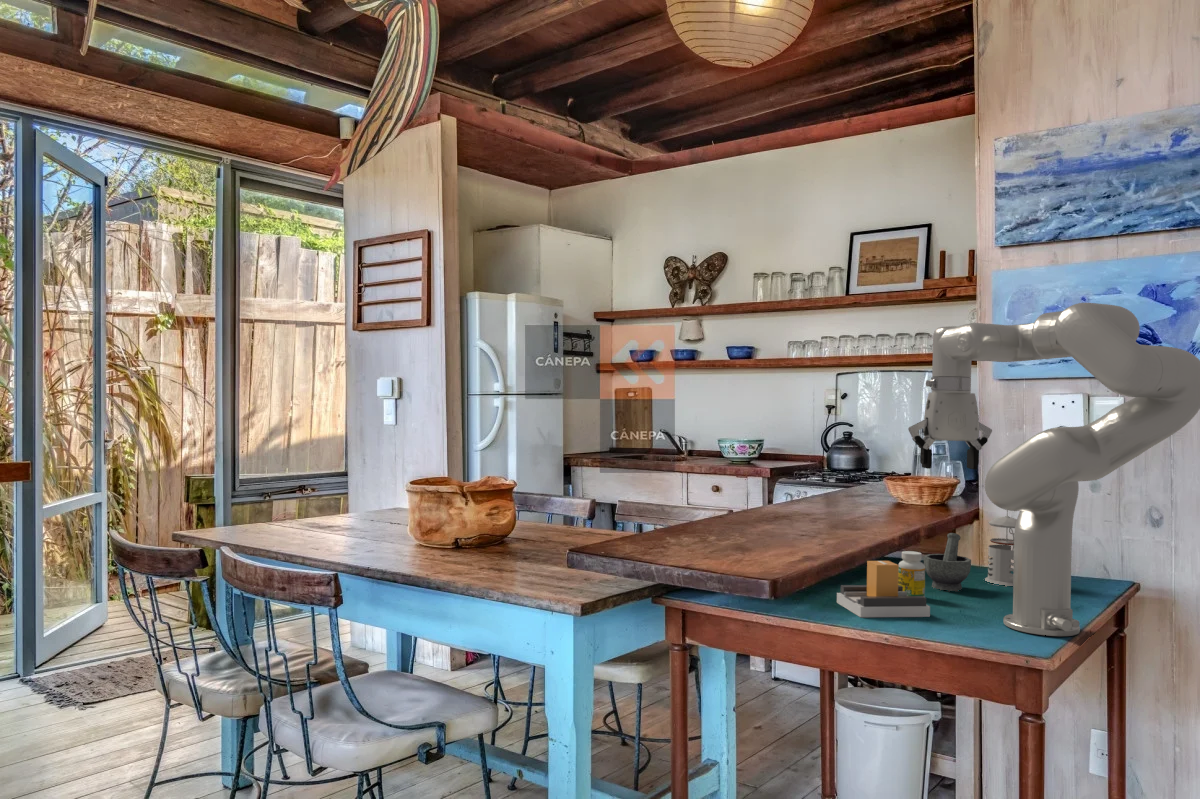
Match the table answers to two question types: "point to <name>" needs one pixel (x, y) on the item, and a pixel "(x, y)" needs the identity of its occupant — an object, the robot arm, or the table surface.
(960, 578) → the mortar and pestle
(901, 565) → the supplement bottle
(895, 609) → the breaker panel
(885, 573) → the orange rectangular block
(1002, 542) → the french press
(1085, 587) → the table surface
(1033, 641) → the table surface
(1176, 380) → the robot arm
